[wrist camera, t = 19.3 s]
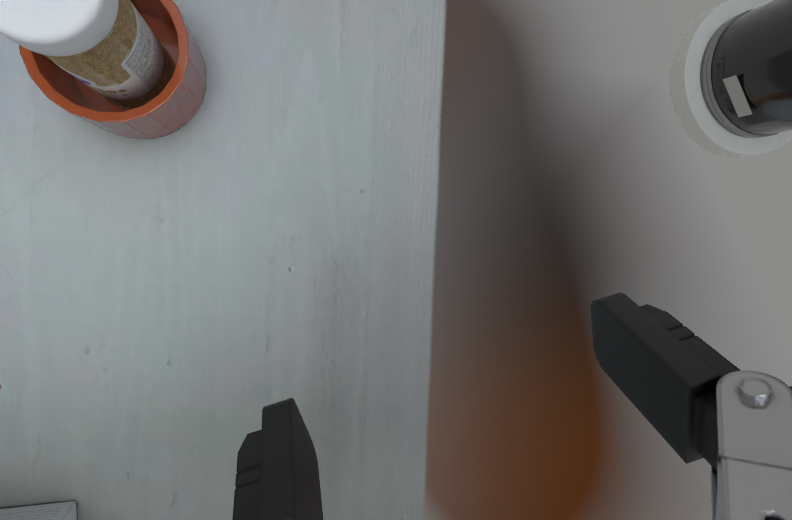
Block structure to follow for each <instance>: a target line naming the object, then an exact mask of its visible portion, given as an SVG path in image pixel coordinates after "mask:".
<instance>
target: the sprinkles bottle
mask: <svg viewBox="0 0 792 520" xmlns="http://www.w3.org/2000/svg"><path fill="white" fill-rule="evenodd" d="M0 33H2V34H3V35H4V36H6V37H7V38H9V39H10V40H12V41H14V42H15V43H17V44H18V45H20V46H22V47H24V48H26V49H28V50H30V51H33V52H36V53H40V54H43V55H44V56H46V57H48V58H49V59H50V60H52V61H53V62H54V63H55V64H57V65H58V66H59V67H60V68H62V69H63V70H65V71H66V72H68V73H69V74H71V75H72V76H74V77H75V78H77V79H78V80H80V81H81V82H83V83H84V84H85V85H87V86H88V87H90V88H91V89H93V90H94V91H96V92H97V93H99V94H101V95H102V96H103V97H104V98H105V99H106V100H107V101H109V102H110V103H112V104H113V105H115V106H116V107H118V108H120V109H124V110H130V109H134V108H137V107H140V106H143V105H145V104H146V103H148V102H149V101H150V100H152V99H153V98H155V97H156V96H158V95H159V94H160V93H161V92H162V91H163V89H164V88H165V86H166V85H167V84H168V82H169V81H170V80H171V78H172V77H173V74H174V70H175V64H174V61H173V60H172V58H171V56H170V54H169V52H168V51H167V50H166V49H165V48H164V46H163V45H162V44H160V43H159V41H158V39H157V38H156V36H155V35H154V33H153V32H152V30H151V29H150V27H149V26H148V25H147V23H146V22H145V20H144V19H143V18H142V16H141V15H140V14H139V12H138V11H137V9H136V8H135V7H134V5H133V4H132V3H131V1H130V0H0Z"/></svg>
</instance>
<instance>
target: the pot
mask: <svg viewBox="0 0 792 520" xmlns="http://www.w3.org/2000/svg"><path fill="white" fill-rule="evenodd" d="M130 1H131V3H132V4H133V5H134V7H135V8H136V9H137V11H138V12H139V14H140V15H141V16H142V18H143V19H144V20H145V22H146V23H147V25H148V26H149V27H150V29H151V30H152V32H153V33H154V35H155V36H156V38H157V39H158V41H159V43H160V44H162V45H163V46H164V48H165V49H166V50H167V51H168V52H169V54H170V56H171V58H172V60H173V61H174V64H175V70H174V74H173V77H172V78H171V80H170V81H169V82H168V84H167V85H166V86H165V88H164V89H163V91H162V92H161V93H160V94H159V95H158V96H156V97H155V98H153V99H152V100H150V101H149V102H148V103H146V104H145V105H143V106H140V107H137V108H134V109H130V110H124V109H120V108H118V107H116V106H115V105H113V104H112V103H110V102H109V101H107V100H106V99H105V98H104V97H103V96H102V95H101V94H99V93H97V92H96V91H94V90H93V89H91V88H90V87H88V86H87V85H85V84H84V83H83V82H81V81H80V80H78V79H77V78H75V77H74V76H72V75H71V74H69V73H68V72H66V71H65V70H63V69H62V68H60V67H59V66H58V65H57V64H55V63H54V62H53V61H52V60H50V59H49V58H48V57H46V56H44V55H43V54H40V53H36V52H33V51H30V50H28V49H26V48H24V47H22V46H20V45H19V50H20V54H21V56H22V59H23V61H24V64H25V66H26V68H27V71H28V73H29V75H30V77H31V79H32V80H33V81H34V82H35V83H36V85H37V86H38V87H39V88H40V89H41V91H42V92H43V93H44V94H45V95H46V96H47V97H48V98H49V99H50V100H51V101H53V102H54V103H56V104H57V105H59V106H60V107H62V108H63V109H65V110H66V111H68V112H69V113H71V114H73V115H76V116H78V117H80V118H82V119H84V120H86V121H88V122H90V123H92V124H95V125H97V126H99V127H101V128H103V129H105V130H107V131H110V132H113V133H116V134H118V135H121V136H125V137H129V138H136V139H150V138H157V137H161V136H165V135H167V134H170V133H172V132H174V131H176V130H178V129H180V128H181V127H182V126H184V125H185V124H186V123H187V122H188V121H189V120H190V119H191V118H192V117H193V116H194V114H195V113H196V112H197V110H198V108H199V107H200V105H201V102H202V100H203V97H204V93H205V89H206V69H205V64H204V60H203V57H202V54H201V52H200V50H199V47H198V45H197V43H196V41H195V39H194V37H193V35H192V33H191V31H190V29H189V28H188V26H187V24H186V22H185V20H184V18H183V16H182V14H181V12H180V11H179V9H178V7H177V6H176V5H175V3H174V2H173V1H172V0H130Z"/></svg>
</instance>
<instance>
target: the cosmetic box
mask: <svg viewBox="0 0 792 520" xmlns="http://www.w3.org/2000/svg"><path fill="white" fill-rule="evenodd" d="M0 520H77V510H76V502H75V501H70V502H61V503H52V504H43V505H33V506H24V507H14V508H5V509H0Z"/></svg>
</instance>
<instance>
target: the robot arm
mask: <svg viewBox="0 0 792 520" xmlns="http://www.w3.org/2000/svg"><path fill="white" fill-rule="evenodd" d="M700 82H701V89H702V94H703V98H704V101H705V103H706V106H707V108H708V110H709V112H710V113H711V115H712V116H713V118H714V119H715V120H716V121H717V122H718V123H719V125H721V126H722V127H723V128H724V129H726V130H727V131H729V132H730V133H732V134H734V135H737V136H740V137H744V138H760V137H766V136H771V135H775V134H778V133H781V132H787V131H792V0H773V1H771V2H769V3H767V4H764V5H762V6H760V7H758V8H755V9H751V10H748V11H745V12H743V13H741V14H739V15H736V16H734V17H732V18H730V19H729V20H727V21H726V22H725V23H723V24H722V25H721V26H720V27H719V28H718V29H717V30H716V31H715V33H714V34H713V35H712V37H711V38H710V40H709V42H708V44H707V46H706V49H705V51H704V54H703V58H702V62H701V71H700ZM591 319H592V333H593V346H594V351H595V355H596V358H597V360H598V362H599V364H600V366H601V367H602V369H603V370H604V371H605V373H606V374H607V375H608V376H609V377H610V378H611V379H612V381H613V382H614V383H615V384H616V385H617V386H618V387H619V388H620V390H621V391H622V392H623V393H624V394H625V395H626V396H627V397H628V399H629V400H630V401H631V402H632V403H633V404H634V405H635V406H636V408H637V409H638V410H639V411H640V412H641V413H642V414H643V415H644V417H645V418H646V419H647V420H648V421H649V422H650V423H651V424H652V425H653V427H654V428H655V429H656V430H657V431H658V432H659V433H660V434H661V436H662V437H663V438H664V439H665V440H666V441H667V442H668V443H669V445H670V446H671V447H672V448H673V449H674V450H675V451H676V453H677V454H678V455H679V456H680V457H681V458H682V459H683V460H684V462H685V463H686V464H687V463H689V462H693V461H695V460H698V459H701V458H705V459H706V460H707V461H708V462H709V464H710V465H711V509H712V510H711V512H712V520H792V387H790V386H788V385H786V384H785V383H784V382H782V381H781V380H779V379H777V378H775V377H773V376H771V375H768V374H765V373H761V372H756V371H741V370H740V369H738V368H737V367H736V366H734V365H733V364H732V363H731V362H729V361H728V360H727V359H726V358H724V357H723V356H722V355H721V354H719V353H718V352H717V351H716V350H714V349H713V348H712V347H711V346H709V345H708V344H707V343H706V342H704V341H703V340H702V339H700V338H699V337H698V336H695V335H694V333H693V332H692V331H690V330H689V329H688V328H687V327H683V325H682V323H680V322H679V321H678V320H677V319H675V318H674V317H673V316H672V315H670V314H669V313H668V312H666V311H663V310H660V309H658V308H655V307H653V306H650V305H644V306H640V307H639V306H638V305H637V304H636V303H634V302H633V301H632V300H631V299H630V298H628V297H627V296H626V295H625V294H623V293H616V294H613V295H611V296H607V297H604V298H601V299H598V300H595V301H593V302H592V304H591ZM235 486H236V489H235V496H234V508H233V520H323V512H322V502H321V491H320V480H319V470H318V461H317V456H316V452H315V448H314V445H313V442H312V440H311V437H310V435H309V433H308V430H307V428H306V426H305V423H304V421H303V419H302V416H301V414H300V412H299V409H298V407H297V405H296V403H295V401H294V399H293V398H290V399H287V400H283V401H280V402H277V403H274V404H271V405H268V406H265V407H263V411H262V430H259V431H256V432H252V433H249V434H247V436H246V438H245V440H244V442H243V444H242V446H241V448H240V450H239V452H238V458H237V474H236V483H235Z"/></svg>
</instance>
